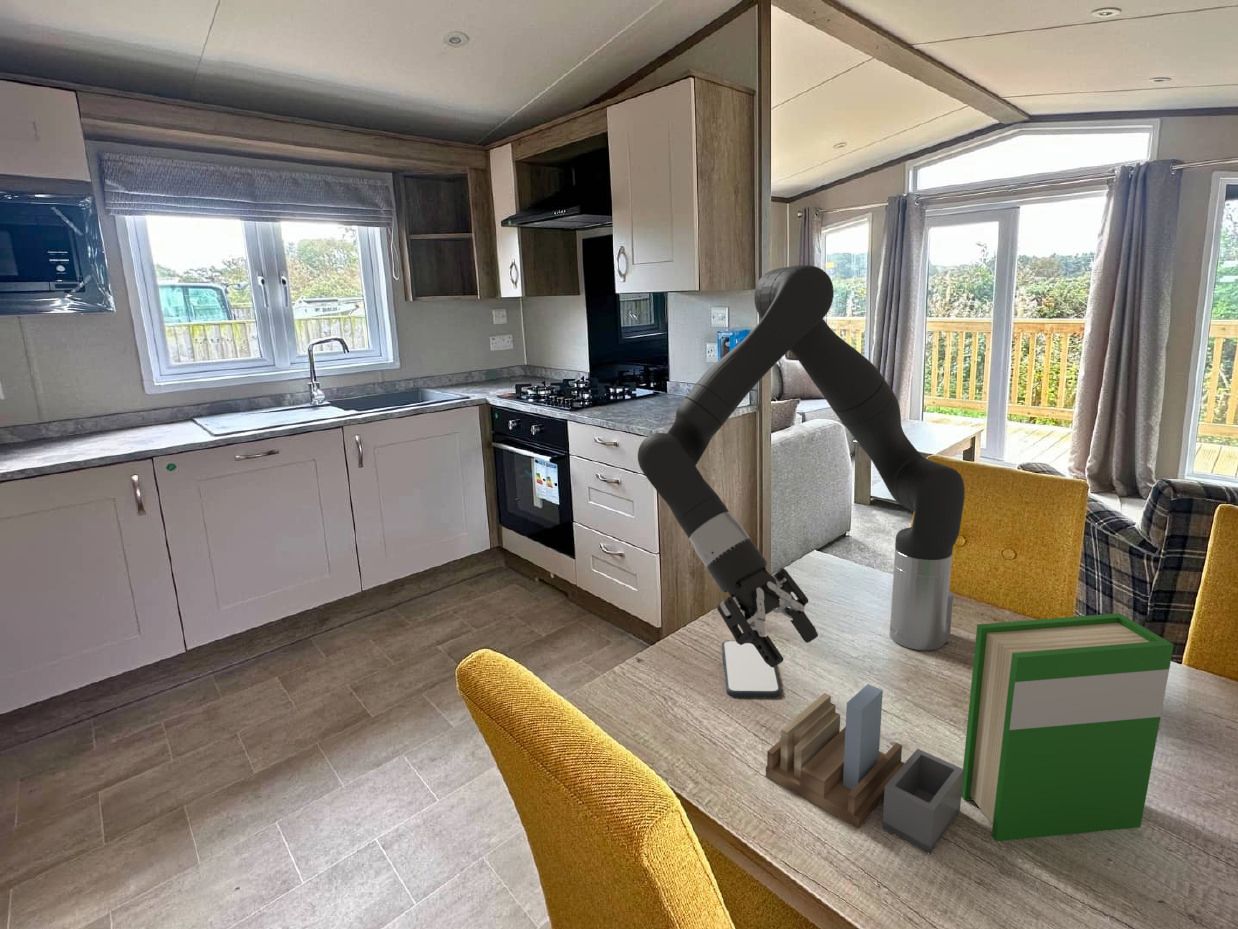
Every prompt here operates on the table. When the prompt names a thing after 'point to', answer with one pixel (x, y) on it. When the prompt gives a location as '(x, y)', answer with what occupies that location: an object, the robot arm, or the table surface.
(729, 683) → the notched smartphone
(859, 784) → the rack
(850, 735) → the blue-grey rectangular block
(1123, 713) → the hardback book
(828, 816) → the table surface
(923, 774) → the bin
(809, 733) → the offcut stack
